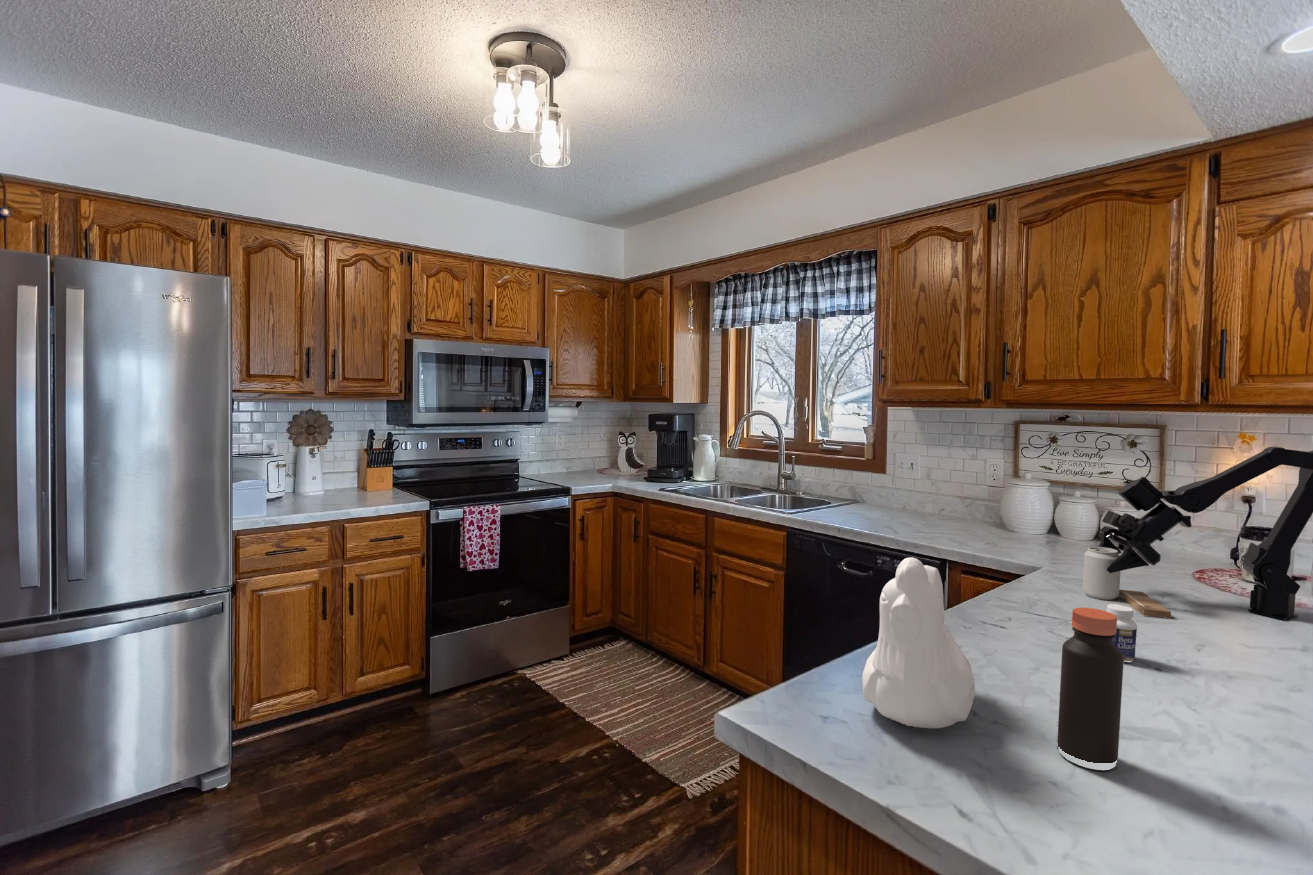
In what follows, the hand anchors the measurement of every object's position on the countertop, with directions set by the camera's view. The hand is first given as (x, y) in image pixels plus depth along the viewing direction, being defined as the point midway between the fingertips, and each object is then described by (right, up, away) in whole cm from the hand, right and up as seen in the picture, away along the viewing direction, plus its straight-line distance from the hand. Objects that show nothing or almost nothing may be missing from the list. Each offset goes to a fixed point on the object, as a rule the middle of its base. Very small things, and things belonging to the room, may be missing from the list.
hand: (1099, 566), depth 157 cm
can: (0, -8, 0) cm, 8 cm away
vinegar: (-52, -12, -71) cm, 89 cm away
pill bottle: (-23, -10, -38) cm, 45 cm away
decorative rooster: (-68, -11, -58) cm, 90 cm away
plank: (+5, -8, -7) cm, 12 cm away
